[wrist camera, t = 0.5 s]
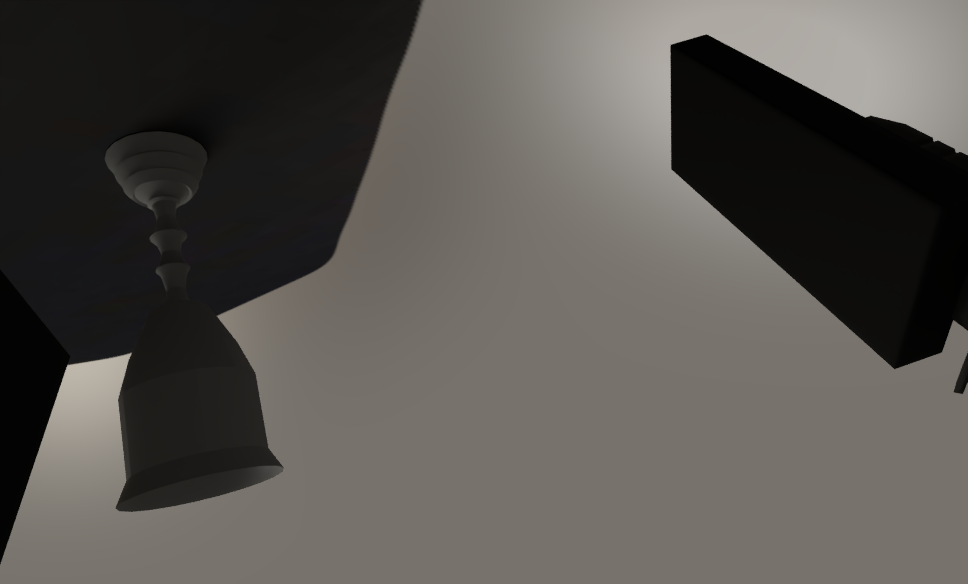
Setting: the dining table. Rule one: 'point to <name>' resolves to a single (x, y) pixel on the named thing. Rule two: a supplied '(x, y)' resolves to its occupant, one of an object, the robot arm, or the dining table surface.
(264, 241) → the dining table surface
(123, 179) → the chalice
